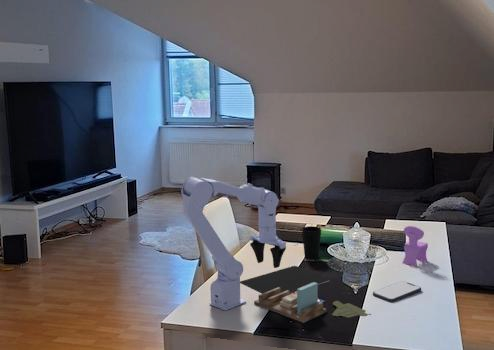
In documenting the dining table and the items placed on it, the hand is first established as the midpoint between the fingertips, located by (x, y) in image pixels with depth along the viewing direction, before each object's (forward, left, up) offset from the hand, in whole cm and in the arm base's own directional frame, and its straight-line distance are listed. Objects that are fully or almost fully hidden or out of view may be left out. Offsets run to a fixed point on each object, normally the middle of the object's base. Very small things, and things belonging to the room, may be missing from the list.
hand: (268, 264), depth 195 cm
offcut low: (-3, -13, -9) cm, 16 cm away
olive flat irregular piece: (+6, -30, -11) cm, 32 cm away
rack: (-4, -13, -10) cm, 17 cm away
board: (-3, -20, -9) cm, 22 cm away
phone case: (+30, -31, -11) cm, 45 cm away
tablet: (+13, +4, -11) cm, 17 cm away
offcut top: (-3, -13, -8) cm, 16 cm away
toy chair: (+63, -19, -11) cm, 66 cm away
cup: (+40, +14, -11) cm, 43 cm away
